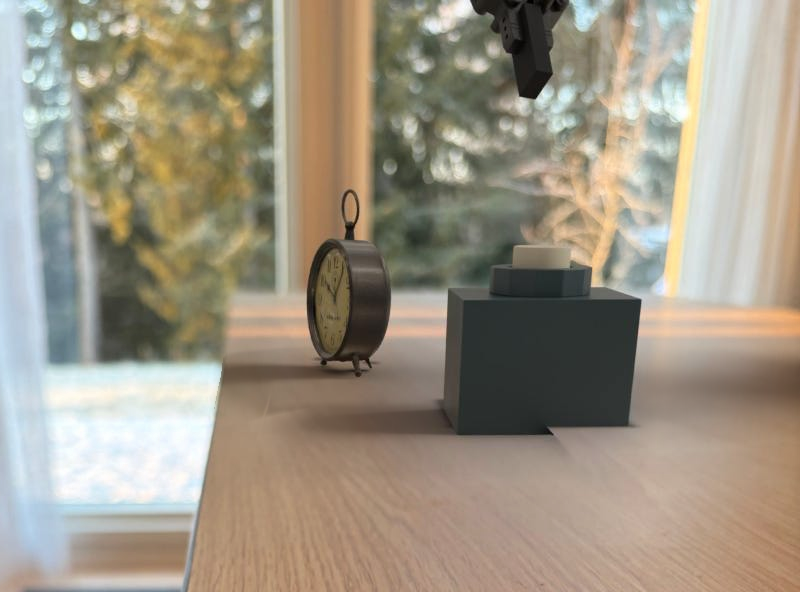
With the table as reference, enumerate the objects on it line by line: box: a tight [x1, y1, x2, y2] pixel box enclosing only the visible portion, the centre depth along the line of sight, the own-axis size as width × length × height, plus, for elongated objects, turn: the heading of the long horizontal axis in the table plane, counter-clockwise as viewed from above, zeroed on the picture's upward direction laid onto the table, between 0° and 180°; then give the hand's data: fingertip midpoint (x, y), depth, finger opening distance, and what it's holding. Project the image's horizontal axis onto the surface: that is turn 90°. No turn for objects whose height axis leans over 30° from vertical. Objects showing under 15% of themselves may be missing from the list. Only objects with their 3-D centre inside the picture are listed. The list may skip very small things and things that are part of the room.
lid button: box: [512, 244, 572, 269], centre depth 75 cm, size 4×4×2 cm
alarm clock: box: [306, 188, 392, 378], centre depth 99 cm, size 11×5×16 cm, turn 22°
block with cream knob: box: [442, 263, 643, 436], centre depth 77 cm, size 12×10×11 cm
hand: (535, 85), depth 82 cm, fingers closed
